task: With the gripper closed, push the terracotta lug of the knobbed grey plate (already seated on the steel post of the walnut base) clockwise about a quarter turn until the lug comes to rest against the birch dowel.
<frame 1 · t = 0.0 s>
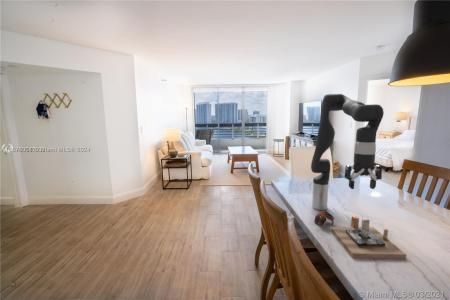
hand: (361, 188, 92), 29 cm above the table, fingers open, 8 cm apart
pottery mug: (323, 224, 120), on the table
knobbed grey plate: (362, 229, 102), point 6 cm above the table, hinge at 0.0°
post base: (363, 242, 101), on the table
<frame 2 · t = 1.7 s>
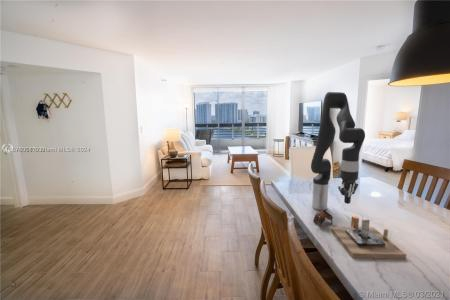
hand: (347, 203, 104), 18 cm above the table, fingers closed
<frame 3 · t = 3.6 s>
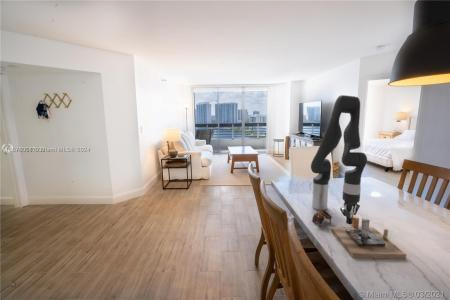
hand: (349, 223, 108), 6 cm above the table, fingers closed
knobbed grey plate: (362, 229, 102), point 6 cm above the table, hinge at -0.4°, touching gripper
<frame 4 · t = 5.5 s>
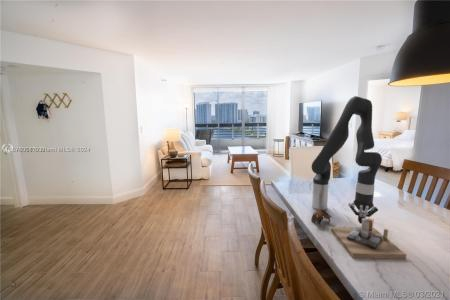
hand: (361, 222, 108), 6 cm above the table, fingers closed
knobbed grey plate: (366, 230, 101), point 6 cm above the table, hinge at -44.4°, touching gripper
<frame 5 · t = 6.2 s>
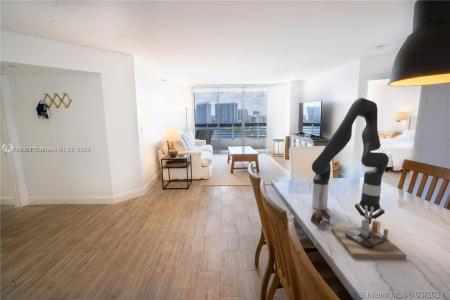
hand: (367, 224, 106), 6 cm above the table, fingers closed
knobbed grey plate: (367, 231, 101), point 6 cm above the table, hinge at -62.5°, touching gripper
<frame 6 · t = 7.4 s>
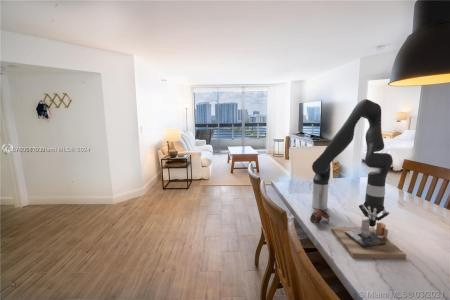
hand: (371, 226, 105), 6 cm above the table, fingers closed
knobbed grey plate: (368, 231, 100), point 6 cm above the table, hinge at -78.0°
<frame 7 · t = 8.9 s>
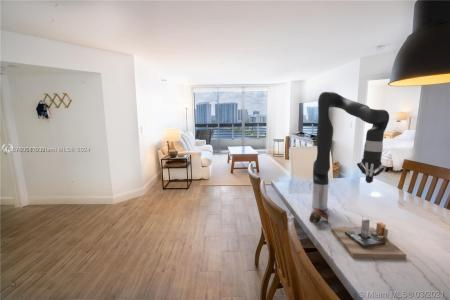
hand: (368, 182, 108), 26 cm above the table, fingers closed
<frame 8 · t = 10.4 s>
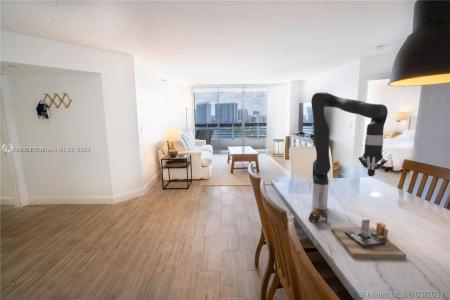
hand: (371, 176, 110), 29 cm above the table, fingers closed
at the end: knobbed grey plate at -78° (first picture: +0°); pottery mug touching table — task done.
